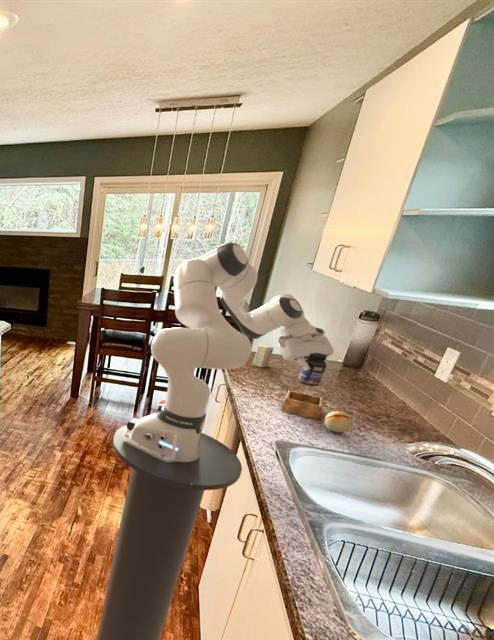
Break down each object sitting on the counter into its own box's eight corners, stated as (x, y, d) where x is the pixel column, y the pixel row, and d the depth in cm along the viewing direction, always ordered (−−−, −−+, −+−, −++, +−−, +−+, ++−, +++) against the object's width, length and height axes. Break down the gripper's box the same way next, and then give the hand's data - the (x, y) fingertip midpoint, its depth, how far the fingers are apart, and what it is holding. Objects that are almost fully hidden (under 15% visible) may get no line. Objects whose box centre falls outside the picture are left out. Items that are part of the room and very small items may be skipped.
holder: (281, 410, 146) (285, 398, 144) (284, 401, 153) (288, 390, 151) (317, 419, 140) (322, 407, 138) (318, 410, 147) (323, 397, 145)
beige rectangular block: (268, 367, 191) (274, 347, 187) (260, 367, 190) (266, 347, 187) (259, 363, 196) (265, 344, 192) (251, 364, 195) (257, 344, 191)
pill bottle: (309, 387, 139) (320, 357, 135) (293, 380, 144) (303, 352, 140) (323, 386, 140) (334, 356, 136) (306, 379, 146) (317, 351, 141)
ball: (320, 424, 137) (327, 406, 134) (346, 430, 133) (354, 411, 130) (321, 432, 131) (329, 413, 129) (348, 438, 128) (357, 419, 125)
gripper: (284, 332, 138) (302, 367, 134) (327, 329, 144) (345, 363, 139) (269, 340, 144) (285, 374, 139) (310, 337, 149) (328, 370, 145)
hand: (316, 369), depth 139 cm, fingers closed on pill bottle, 6 cm apart
